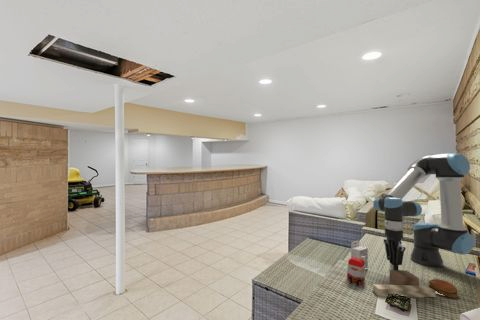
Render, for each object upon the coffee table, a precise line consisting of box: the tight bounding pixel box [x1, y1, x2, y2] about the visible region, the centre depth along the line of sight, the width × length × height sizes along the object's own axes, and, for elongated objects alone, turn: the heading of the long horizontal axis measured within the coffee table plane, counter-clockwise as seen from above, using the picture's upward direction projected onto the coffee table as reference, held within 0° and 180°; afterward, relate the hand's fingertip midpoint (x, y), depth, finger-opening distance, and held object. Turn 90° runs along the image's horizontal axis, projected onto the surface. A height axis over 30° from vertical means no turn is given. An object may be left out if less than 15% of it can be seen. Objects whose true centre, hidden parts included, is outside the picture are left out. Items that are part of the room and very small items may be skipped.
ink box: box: [350, 239, 369, 268], centre depth 122 cm, size 8×5×15 cm, turn 123°
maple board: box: [372, 283, 436, 298], centre depth 97 cm, size 24×4×3 cm, turn 89°
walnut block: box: [389, 269, 420, 286], centre depth 103 cm, size 8×8×6 cm
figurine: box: [346, 256, 367, 287], centre depth 107 cm, size 8×7×12 cm
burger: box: [427, 278, 459, 299], centre depth 99 cm, size 10×9×5 cm
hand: (394, 277), depth 109 cm, fingers closed
